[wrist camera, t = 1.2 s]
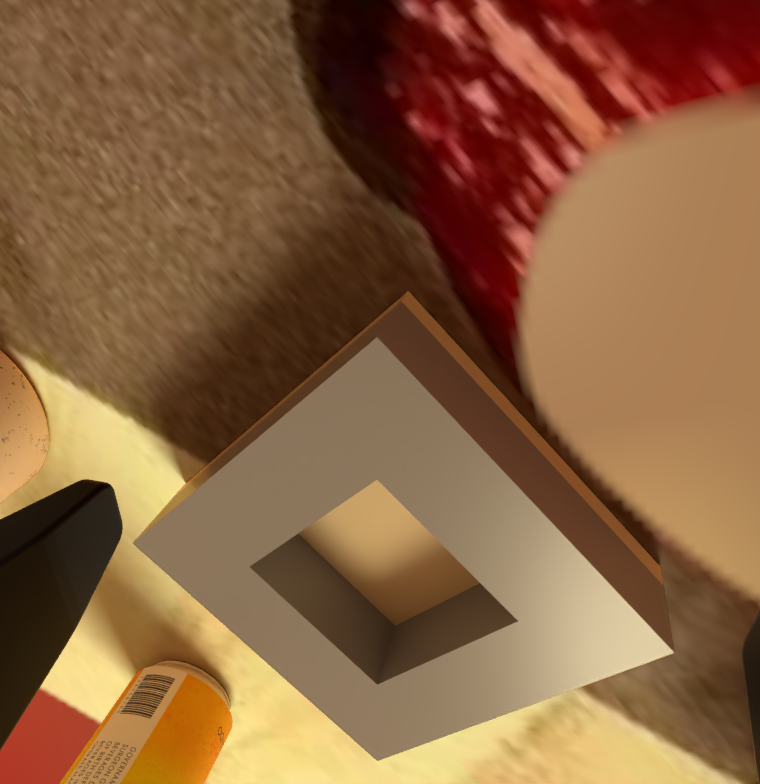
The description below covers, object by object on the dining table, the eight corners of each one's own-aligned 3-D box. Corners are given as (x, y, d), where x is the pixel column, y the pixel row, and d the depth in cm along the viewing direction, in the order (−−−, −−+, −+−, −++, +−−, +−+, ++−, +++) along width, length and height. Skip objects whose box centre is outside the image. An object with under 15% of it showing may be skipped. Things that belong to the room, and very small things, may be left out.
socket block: (660, 566, 24) (674, 652, 21) (398, 682, 31) (377, 761, 28) (408, 290, 22) (376, 337, 18) (185, 483, 29) (132, 543, 25)
